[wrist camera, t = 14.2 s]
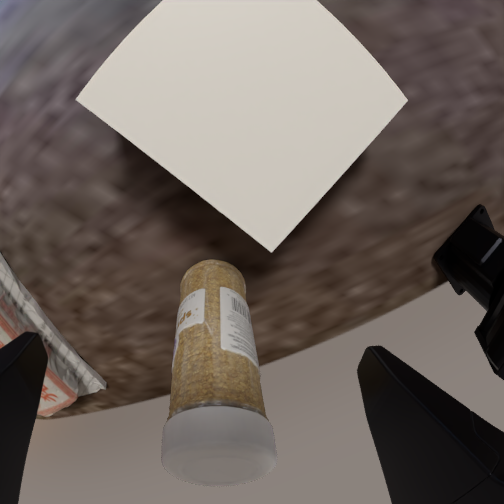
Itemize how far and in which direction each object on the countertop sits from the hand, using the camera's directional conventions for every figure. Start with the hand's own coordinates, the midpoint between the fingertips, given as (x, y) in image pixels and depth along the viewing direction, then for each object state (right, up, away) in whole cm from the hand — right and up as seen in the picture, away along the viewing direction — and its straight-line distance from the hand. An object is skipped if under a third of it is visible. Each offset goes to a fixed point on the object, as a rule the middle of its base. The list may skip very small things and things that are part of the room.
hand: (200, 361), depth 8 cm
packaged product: (-20, -4, +15) cm, 25 cm away
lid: (+1, +10, +5) cm, 11 cm away
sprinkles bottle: (-1, 0, +14) cm, 14 cm away
